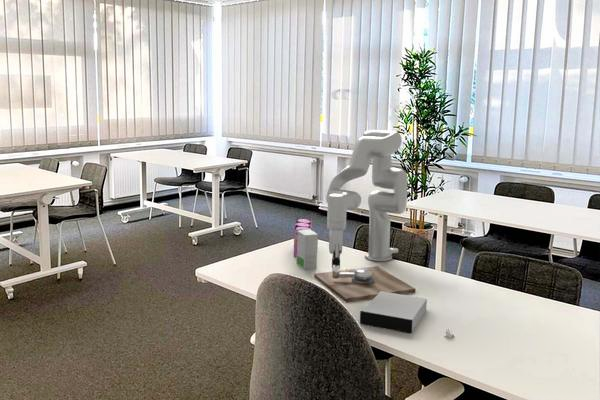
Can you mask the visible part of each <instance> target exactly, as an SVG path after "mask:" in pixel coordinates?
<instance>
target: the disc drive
mask: <svg viewBox="0 0 600 400" xmlns="http://www.w3.org/2000/svg"><path fill="white" fill-rule="evenodd" d="M427 305H428V299H427V298H425V297H420V296H413V295H408V294H395V293H389V292H383V291H380V293H379V294H378V295H377V296H376V297H375V298H373V299H371V301H370V302H369V303H368V304H367V305H365V307H364V308H363V309H362V310H361V311H360V312H359V324H360V325H363V324H364V326H368V325H369V327H374V328H379V327H380V328H379V329H384V328H385V329H386V330H389V329H390V330H389V331H396V332H399V333H400V332H401V333H405V334H411V335H412V333H413V331H414V329H415V328H416V326H417V325H418V323H419V321H420V320H422V318H423V316H424V315H425V312H426V311H427V307H428V306H427ZM385 329H384V330H385Z"/></svg>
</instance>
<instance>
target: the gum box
mask: <svg viewBox="0 0 600 400" xmlns="http://www.w3.org/2000/svg"><path fill="white" fill-rule="evenodd" d="M312 223H313V221H312V218H311V217H310V218H308V219H304V218H303V219H301V218H299V217H298V218H297V217H296V219H295V225H294V227H293V228H294V229H293V233H294V234H293V258H297V240H298V231H300V230H312V225H313V224H312ZM312 231H313V230H312Z"/></svg>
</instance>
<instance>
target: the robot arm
mask: <svg viewBox="0 0 600 400" xmlns="http://www.w3.org/2000/svg"><path fill="white" fill-rule="evenodd" d="M401 145H402V135H401V133H400V132H398V131H395V130H384V129H383V130H382V129H369V130H366V131H364V132H363V134H362V136H361V137H359V138H358V139H357V140H356V142H355V145H354V147H353V151H352V153H351V156H350V159H349V161H348V164H347V166H346V167H345V168H343V169H342V170H340V171H339V172H338V173H337V174H336V175H335V176H334V177H333V178H332V179H331V181H330V184H329V187H328V190H327V193H326V195H325V197H326V198H325V199H326V204H327V213H326V214H327V215H326V216H327V218H326V219H327V220H326V221H327V222H326V223H327V224H326V225H327V227H326V228H327V229H328V230H329V232H328V233H329V234H328V235H329V236H328V239H329V240H328V252H329V254H330V255H332V256H331V268H333V265H335V264H337V265H340V266H341V257H340V256H341V254H343V245H344V244H343V241H344V240H343V239H344V230H346V229H347V211H353V210H356V209H358V208H359V206H361V203H362V196H361V194H360V193H358V192H356V191H352V190H346V189H345V190H344V189H341V188H342V187H343V186H344V185H345V184H346V183H348V182H350V181H352V180H355V179H358V178H362V177H364V176H366V175H367V173H368V171H369V169H370V168H369V167H370V165H371V163H372V168H371V180H372V181H371V183H372V185H373V187H375V188H378V189H385V190H373V191H371V192H370V193H369V195H368V198H367V204H368V212H369V213H368V214H369V223H368V224H369V226H368V252H366V253H365V254H364V258H365V259H367V260H369V261H373V262H388V261H390V260H392V259H393V255H392V254H396V253H399V248H393V247H390V238H391V237H390V236H391V235H390V234H391V220H390V216H389V215H388V214H396V215H401V214H403V213H404V212H405V211H406V209H407V202H408V201H407V200H408V174H407V173H406V171H405V170H404V169H403V168H395V167H394V168H393V167H392V154H394V153H396V152H397V151H398V150H399V149H400V147H402V146H401ZM387 190H388V191H387ZM389 190H392V191H389Z"/></svg>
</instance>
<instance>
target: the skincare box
mask: <svg viewBox="0 0 600 400" xmlns="http://www.w3.org/2000/svg"><path fill="white" fill-rule="evenodd" d="M318 241H319V234H318V233H316V232H315V231H314V230H300V231H298V240H297V257H296V265H298V266H299V267H300V268H301V269H303V270H309V269H315V268H317V262H318V243H319V242H318Z"/></svg>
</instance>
